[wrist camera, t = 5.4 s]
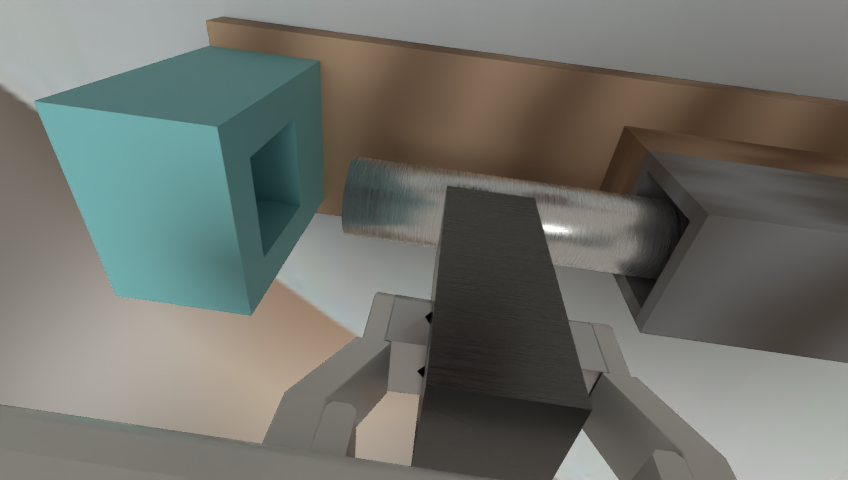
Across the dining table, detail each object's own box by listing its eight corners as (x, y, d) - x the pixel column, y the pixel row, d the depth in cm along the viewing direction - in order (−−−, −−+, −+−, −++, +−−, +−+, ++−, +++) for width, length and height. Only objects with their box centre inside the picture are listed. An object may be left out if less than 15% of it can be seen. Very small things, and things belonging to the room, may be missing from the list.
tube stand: (918, 111, 19) (1247, 219, 11) (795, 266, 24) (957, 417, 16) (222, 16, 19) (50, 54, 11) (248, 189, 24) (142, 297, 16)
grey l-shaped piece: (823, 209, 16) (1252, 508, 7) (777, 270, 17) (1078, 571, 9) (361, 144, 16) (234, 356, 7) (360, 210, 18) (255, 445, 9)
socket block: (320, 60, 18) (217, 127, 11) (324, 198, 22) (251, 315, 15) (210, 45, 18) (33, 101, 11) (234, 185, 22) (116, 295, 15)
